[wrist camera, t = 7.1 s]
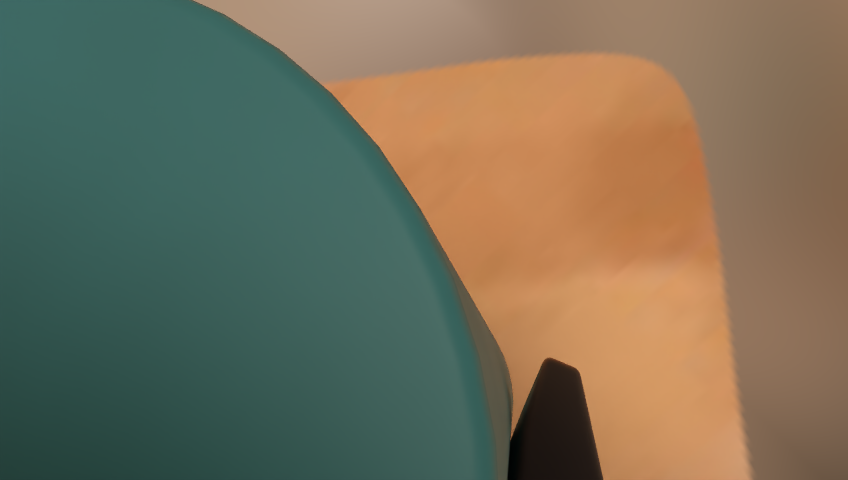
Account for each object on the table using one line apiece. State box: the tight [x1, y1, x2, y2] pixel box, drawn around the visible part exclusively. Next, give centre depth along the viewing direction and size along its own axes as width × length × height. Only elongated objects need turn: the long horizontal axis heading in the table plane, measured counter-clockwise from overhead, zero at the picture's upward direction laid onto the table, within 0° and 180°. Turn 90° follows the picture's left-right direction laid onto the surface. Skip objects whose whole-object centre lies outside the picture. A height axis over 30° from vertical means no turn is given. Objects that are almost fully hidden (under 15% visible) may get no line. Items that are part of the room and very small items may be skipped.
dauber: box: [0, 0, 513, 480], centre depth 9 cm, size 4×4×13 cm
